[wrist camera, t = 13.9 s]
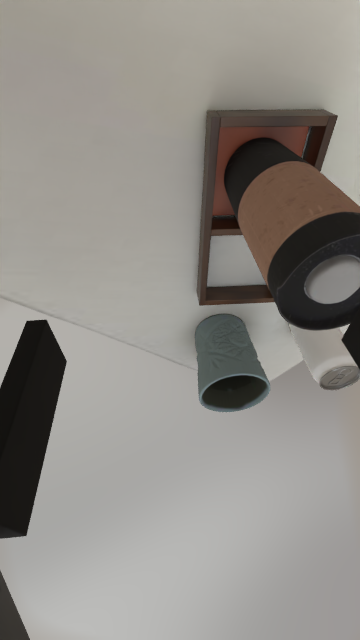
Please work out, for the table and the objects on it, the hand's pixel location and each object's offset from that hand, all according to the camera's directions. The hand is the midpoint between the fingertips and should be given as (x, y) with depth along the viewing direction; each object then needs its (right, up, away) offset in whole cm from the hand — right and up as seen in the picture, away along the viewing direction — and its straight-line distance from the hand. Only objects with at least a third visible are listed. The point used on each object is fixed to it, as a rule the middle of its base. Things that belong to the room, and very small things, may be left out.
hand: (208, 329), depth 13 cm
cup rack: (+7, +13, +23) cm, 27 cm away
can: (+20, +1, +36) cm, 41 cm away
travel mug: (+7, +16, +19) cm, 26 cm away
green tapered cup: (+6, -2, +37) cm, 38 cm away
